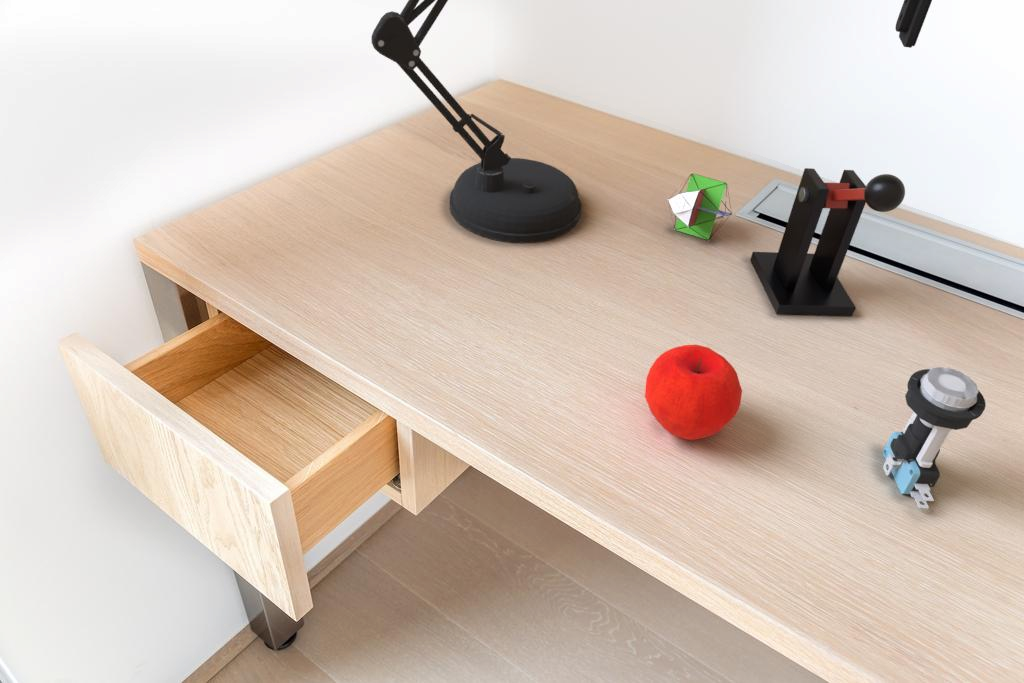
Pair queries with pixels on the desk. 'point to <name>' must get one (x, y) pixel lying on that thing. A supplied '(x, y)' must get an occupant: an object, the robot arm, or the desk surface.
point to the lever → (868, 194)
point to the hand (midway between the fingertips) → (968, 50)
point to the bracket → (811, 277)
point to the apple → (692, 391)
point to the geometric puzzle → (699, 206)
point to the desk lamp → (484, 154)
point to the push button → (930, 427)
